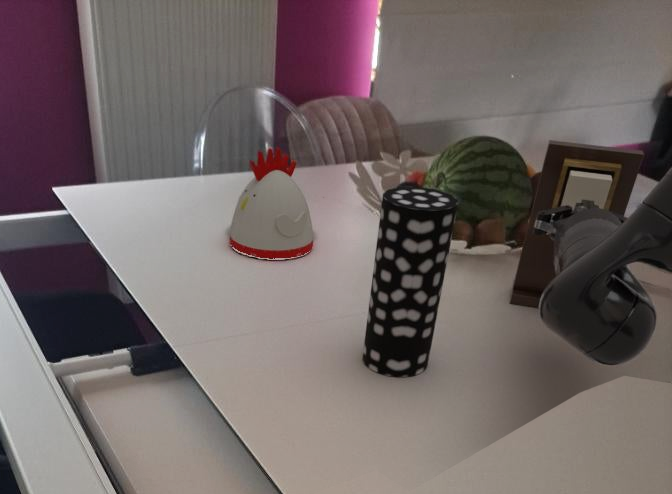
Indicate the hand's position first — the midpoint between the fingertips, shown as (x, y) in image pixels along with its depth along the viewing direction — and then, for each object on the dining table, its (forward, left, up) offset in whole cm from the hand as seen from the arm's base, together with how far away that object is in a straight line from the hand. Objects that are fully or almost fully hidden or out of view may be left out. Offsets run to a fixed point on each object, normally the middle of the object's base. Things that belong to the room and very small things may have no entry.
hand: (585, 208), depth 95 cm
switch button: (+1, -4, -3) cm, 5 cm away
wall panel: (+3, -7, -16) cm, 18 cm away
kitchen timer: (+48, +3, -16) cm, 50 cm away
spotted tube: (+12, +25, -16) cm, 32 cm away
